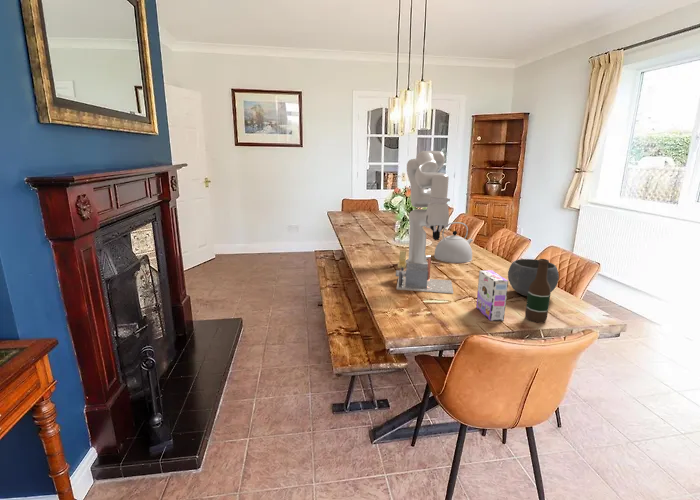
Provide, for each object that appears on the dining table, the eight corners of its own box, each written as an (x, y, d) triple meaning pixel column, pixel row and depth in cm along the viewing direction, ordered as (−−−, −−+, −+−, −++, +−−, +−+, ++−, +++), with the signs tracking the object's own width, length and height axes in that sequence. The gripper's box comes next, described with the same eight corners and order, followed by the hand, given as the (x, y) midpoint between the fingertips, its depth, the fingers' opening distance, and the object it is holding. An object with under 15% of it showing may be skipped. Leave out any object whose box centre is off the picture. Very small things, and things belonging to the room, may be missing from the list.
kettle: (461, 251, 247) (463, 218, 242) (483, 260, 226) (486, 224, 221) (427, 254, 240) (429, 219, 234) (447, 264, 219) (449, 226, 213)
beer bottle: (537, 324, 141) (546, 263, 135) (520, 317, 148) (527, 258, 142) (551, 320, 145) (560, 261, 139) (533, 313, 151) (541, 256, 145)
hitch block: (450, 281, 189) (452, 263, 187) (453, 293, 172) (454, 274, 170) (398, 277, 194) (399, 260, 192) (396, 289, 177) (397, 270, 175)
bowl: (566, 300, 165) (571, 268, 161) (527, 305, 159) (532, 271, 155) (532, 285, 184) (536, 256, 180) (496, 289, 178) (500, 259, 174)
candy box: (504, 321, 144) (509, 280, 140) (489, 321, 144) (494, 280, 140) (488, 306, 157) (492, 269, 153) (475, 307, 157) (478, 269, 153)
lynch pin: (429, 278, 184) (430, 256, 181) (429, 282, 179) (430, 259, 176) (396, 276, 187) (397, 255, 184) (395, 280, 182) (396, 257, 179)
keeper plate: (406, 264, 191) (407, 250, 189) (405, 268, 184) (406, 254, 182) (398, 263, 191) (399, 250, 190) (397, 267, 185) (398, 253, 183)
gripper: (450, 199, 178) (448, 237, 183) (420, 200, 176) (418, 238, 181) (457, 202, 171) (453, 241, 176) (425, 202, 169) (423, 241, 174)
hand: (435, 239), depth 179 cm, fingers closed
